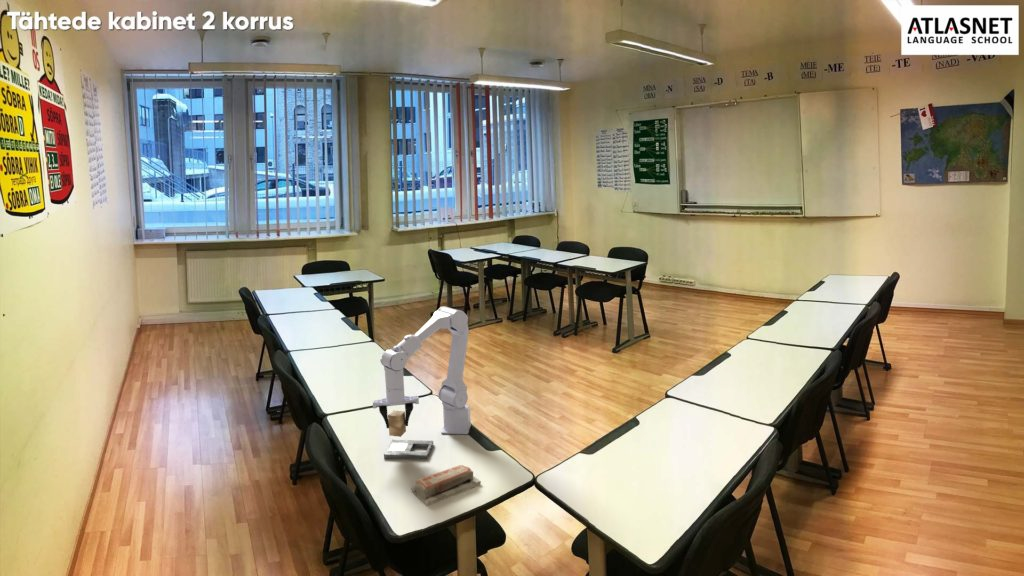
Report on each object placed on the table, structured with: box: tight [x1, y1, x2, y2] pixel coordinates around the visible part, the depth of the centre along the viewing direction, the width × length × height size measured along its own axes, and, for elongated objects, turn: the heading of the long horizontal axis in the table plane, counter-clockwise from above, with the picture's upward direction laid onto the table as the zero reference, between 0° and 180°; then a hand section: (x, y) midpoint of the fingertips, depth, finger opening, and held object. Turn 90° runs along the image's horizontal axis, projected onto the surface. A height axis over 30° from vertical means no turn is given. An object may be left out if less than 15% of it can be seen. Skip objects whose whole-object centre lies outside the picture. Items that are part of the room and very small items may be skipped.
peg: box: [387, 410, 407, 438], centre depth 193 cm, size 4×4×7 cm
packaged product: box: [410, 464, 482, 506], centre depth 173 cm, size 18×5×10 cm
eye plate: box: [383, 439, 434, 461], centre depth 195 cm, size 14×10×2 cm
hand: (397, 425), depth 194 cm, fingers closed on peg, 5 cm apart
